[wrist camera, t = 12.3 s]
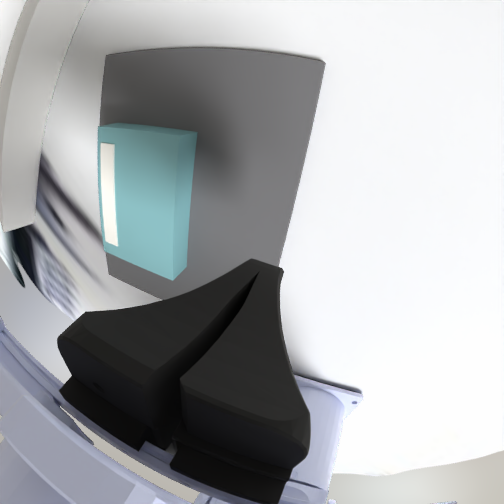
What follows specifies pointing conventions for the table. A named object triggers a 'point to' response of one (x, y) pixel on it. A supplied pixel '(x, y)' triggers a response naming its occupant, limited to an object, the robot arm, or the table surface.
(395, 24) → the table surface
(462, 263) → the table surface
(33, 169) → the bevelled gray strip
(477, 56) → the table surface
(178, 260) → the card box
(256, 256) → the mat
